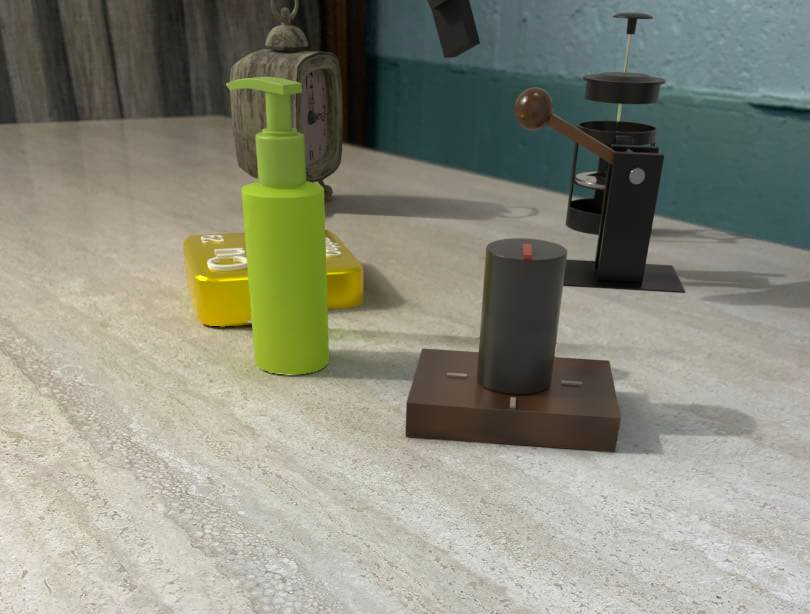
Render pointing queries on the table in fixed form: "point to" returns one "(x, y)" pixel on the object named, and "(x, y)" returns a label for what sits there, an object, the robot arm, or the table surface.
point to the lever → (554, 121)
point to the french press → (611, 130)
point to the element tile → (229, 286)
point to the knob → (520, 314)
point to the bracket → (626, 228)
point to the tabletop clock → (292, 100)
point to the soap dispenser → (285, 242)
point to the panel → (513, 405)
